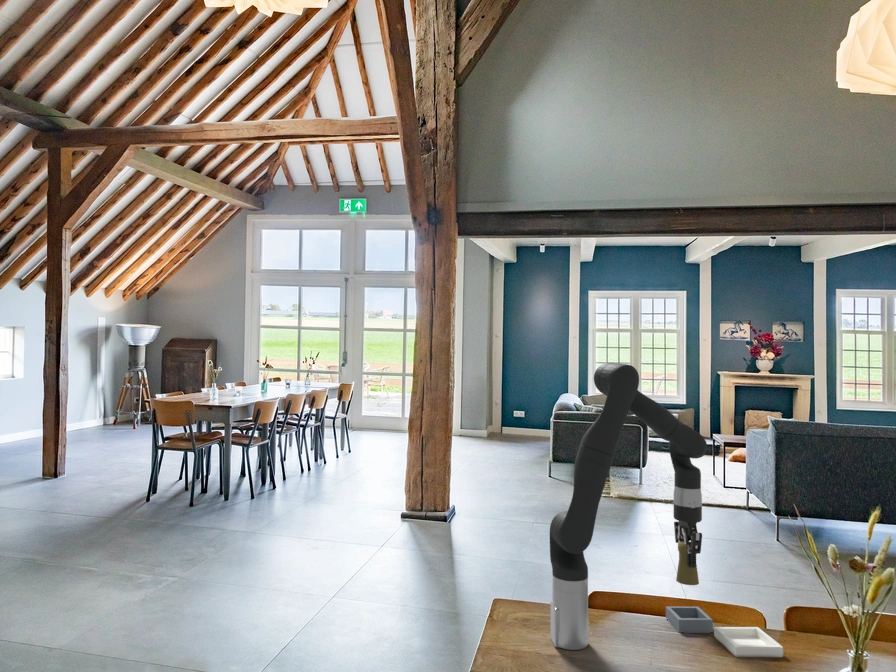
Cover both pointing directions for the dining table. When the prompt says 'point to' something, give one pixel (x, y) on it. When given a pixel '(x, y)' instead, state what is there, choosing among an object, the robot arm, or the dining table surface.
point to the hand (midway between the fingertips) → (687, 563)
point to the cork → (685, 568)
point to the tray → (748, 642)
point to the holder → (689, 619)
